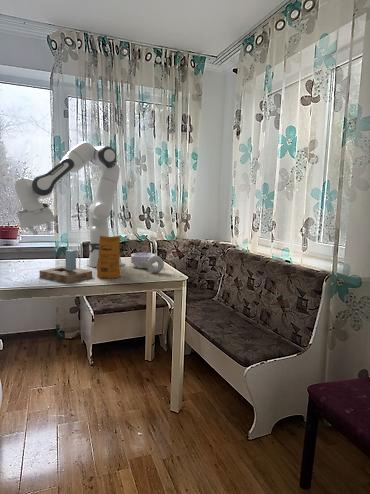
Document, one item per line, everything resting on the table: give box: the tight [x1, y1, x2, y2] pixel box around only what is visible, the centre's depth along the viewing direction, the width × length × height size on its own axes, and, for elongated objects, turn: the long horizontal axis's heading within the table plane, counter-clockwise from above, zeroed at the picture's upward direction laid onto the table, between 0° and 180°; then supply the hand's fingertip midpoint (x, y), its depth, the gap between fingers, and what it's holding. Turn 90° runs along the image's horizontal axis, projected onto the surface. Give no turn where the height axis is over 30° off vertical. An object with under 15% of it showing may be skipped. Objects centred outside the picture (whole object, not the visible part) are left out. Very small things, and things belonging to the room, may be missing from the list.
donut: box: [146, 255, 165, 274], centre depth 193 cm, size 10×4×10 cm, turn 96°
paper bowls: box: [130, 252, 157, 269], centre depth 208 cm, size 15×15×8 cm
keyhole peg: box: [65, 249, 77, 272], centre depth 172 cm, size 5×5×14 cm
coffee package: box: [96, 235, 121, 279], centre depth 179 cm, size 10×12×22 cm
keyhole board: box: [38, 265, 93, 284], centre depth 175 cm, size 21×16×4 cm
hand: (43, 232), depth 181 cm, fingers open, 8 cm apart
